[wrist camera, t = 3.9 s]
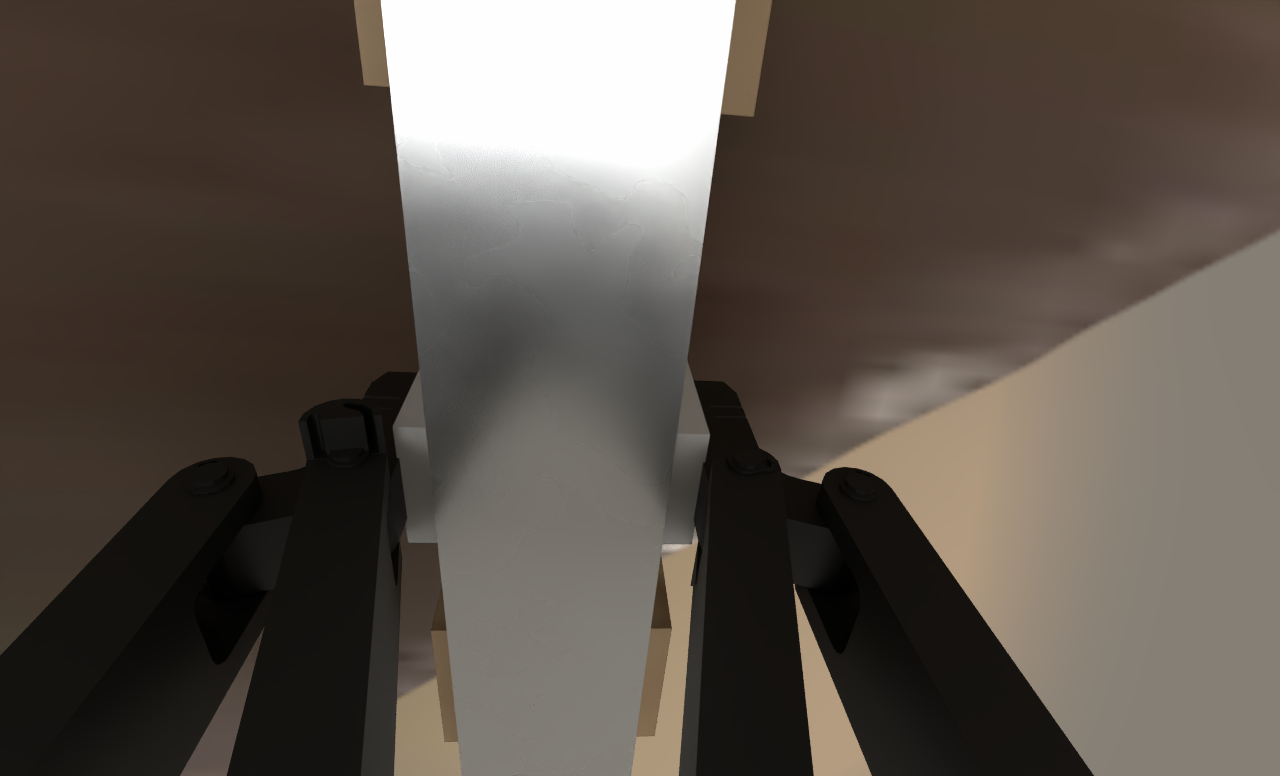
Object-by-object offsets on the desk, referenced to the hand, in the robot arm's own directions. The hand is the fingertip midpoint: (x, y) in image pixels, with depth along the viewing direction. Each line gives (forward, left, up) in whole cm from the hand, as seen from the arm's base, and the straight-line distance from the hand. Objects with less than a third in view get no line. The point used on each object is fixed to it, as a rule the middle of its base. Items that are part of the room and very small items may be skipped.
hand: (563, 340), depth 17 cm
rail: (0, 0, +2) cm, 2 cm away
